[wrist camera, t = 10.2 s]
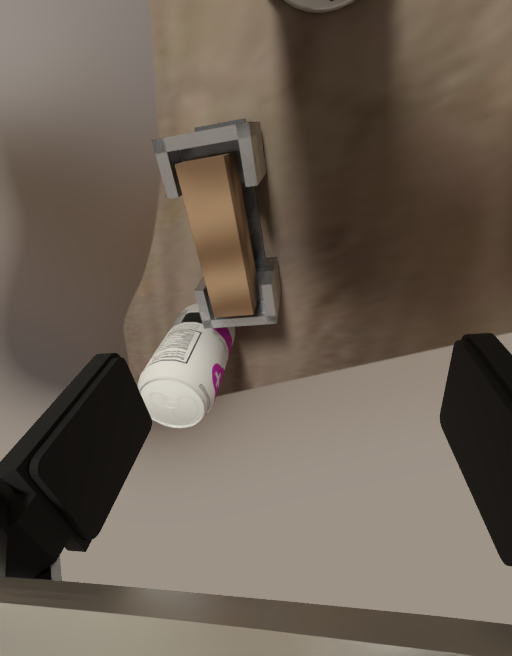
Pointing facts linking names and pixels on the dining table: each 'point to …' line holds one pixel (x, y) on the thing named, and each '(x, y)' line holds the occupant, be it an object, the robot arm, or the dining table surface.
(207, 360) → the supplement can
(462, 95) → the dining table surface
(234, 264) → the brown wooden block
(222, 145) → the bracket stand
